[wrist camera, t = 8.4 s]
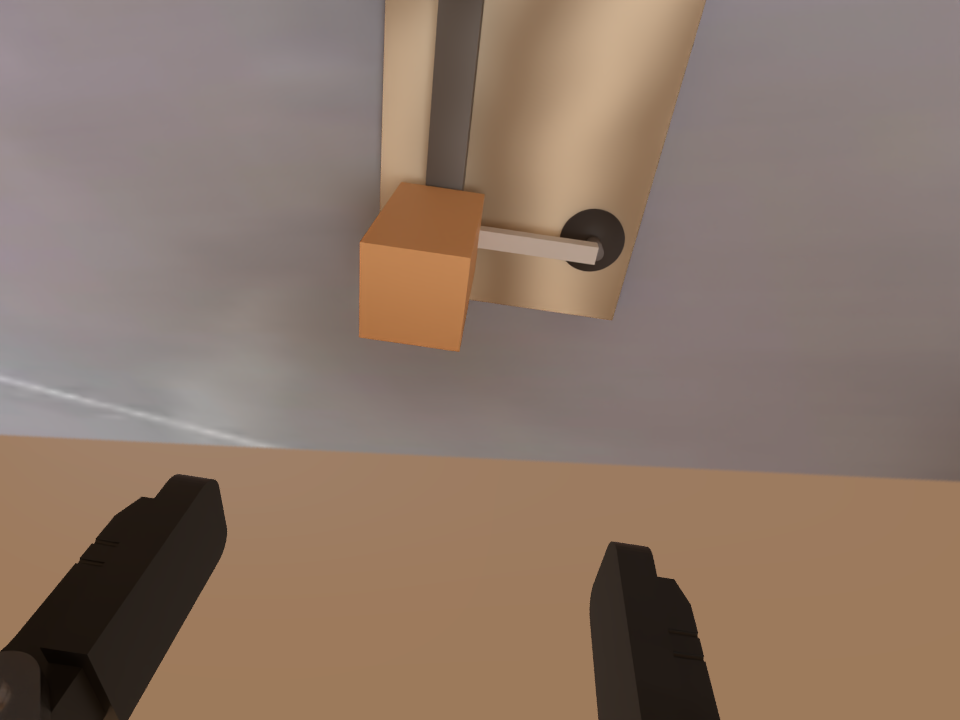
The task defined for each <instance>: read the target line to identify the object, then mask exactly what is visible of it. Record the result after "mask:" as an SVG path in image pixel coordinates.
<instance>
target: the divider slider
mask: <svg viewBox="0 0 960 720" xmlns="http://www.w3.org/2000/svg"><path fill="white" fill-rule="evenodd" d="M484 197H485V194H480V193H474V192H467V191H460V190H453V189H446V188H440V187H433V186H426V185H419V184H412V183H406V182H401V183H400V184H399V186H398V187H397V189H396V190H395V192H394V193H393V195H392V196H391V197H390V199H389V200H388V202H387V203H386V205H385V206H384V208H383V209H382V211H381V212H380V213H379V215H378V216H377V218H376V219H375V221H374V222H373V224H372V225H371V226H370V228H369V229H368V231H367V232H366V234H365V235H364V237H363V238H362V240H361V241H360V295H359V337H361V338H368V339H375V340H381V341H388V342H395V343H402V344H409V345H416V346H423V347H430V348H437V349H444V350H451V351H458V352H459V350H460V345H461V340H462V335H463V330H464V324H465V319H466V314H467V309H468V304H469V299H470V293H471V288H472V283H473V278H474V273H475V266H476V258H477V250H478V248H483V249H489V250H496V251H503V252H510V253H517V254H524V255H530V256H537V257H544V258H551V259H558V260H565V261H571V262H578V263H585V264H592V265H595V261H599V260H600V259H602V257H603V256H604V251H603V247H602V244H601V241H600V239H599V238H598V237H595V236H593V237H590V238H588V239H587V241H582V240H575V239H569V238H562V237H555V236H548V235H541V234H534V233H528V232H521V231H514V230H507V229H500V228H494V227H487V226H481V220H482V212H483V204H484Z"/></svg>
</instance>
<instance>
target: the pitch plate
mask: <svg viewBox="0 0 960 720" xmlns="http://www.w3.org/2000/svg"><path fill="white" fill-rule="evenodd" d="M705 2H706V0H385V37H384V75H383V113H382V151H381V189H380V212H381V211H382V209H383V208H384V206H385V205H386V203H387V202H388V200H389V199H390V197H391V196H392V195H393V193H394V192H395V190H396V189H397V187H398V186H399V184H400V183H401V182H406V183H412V184H419V185H426V186H433V187H440V188H446V189H453V190H460V191H467V192H474V193H480V194H485V197H484V204H483V212H482V220H481V226H487V227H494V228H500V229H507V230H514V231H521V232H528V233H534V234H541V235H548V236H555V237H562V238H569V239H575V240H582V241H587V239H588V238H590V237H593V236H595V237H598V238H599V239H600V241H601V244H602V247H603V251H604V256H603V257H602V259H600V260H599V261H595V265H592V264H585V263H578V262H571V261H565V260H558V259H551V258H544V257H537V256H530V255H524V254H517V253H510V252H503V251H496V250H489V249H483V248H478V250H477V258H476V266H475V273H474V278H473V283H472V288H471V293H470V299H469V300H475V301H482V302H489V303H496V304H503V305H510V306H517V307H524V308H530V309H537V310H544V311H551V312H558V313H565V314H572V315H579V316H585V317H592V318H599V319H606V320H612V319H613V316H614V312H615V309H616V305H617V302H618V299H619V295H620V292H621V288H622V285H623V281H624V278H625V275H626V271H627V268H628V264H629V261H630V258H631V254H632V251H633V247H634V244H635V241H636V237H637V234H638V230H639V227H640V224H641V220H642V217H643V213H644V210H645V207H646V203H647V200H648V196H649V193H650V189H651V186H652V183H653V179H654V176H655V172H656V169H657V166H658V162H659V159H660V155H661V152H662V149H663V145H664V142H665V138H666V135H667V132H668V128H669V125H670V121H671V118H672V114H673V111H674V108H675V104H676V101H677V97H678V94H679V91H680V87H681V84H682V80H683V77H684V74H685V70H686V67H687V63H688V60H689V57H690V53H691V50H692V46H693V43H694V40H695V36H696V33H697V29H698V26H699V22H700V19H701V16H702V12H703V9H704V5H705Z"/></svg>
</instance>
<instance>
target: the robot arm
mask: <svg viewBox="0 0 960 720" xmlns="http://www.w3.org/2000/svg"><path fill="white" fill-rule="evenodd" d="M226 537H227V526H226V521H225V516H224V510H223V505H222V500H221V495H220V489H219V485H218V482H217V481H216V480H214V479H207V478H201V477H194V476H188V475H181V474H177V475H174V476H173V477H171V478H170V479H169V480H168V482H167V483H166V484H165V485H164V487H163V488H162V489H161V490H160V492H159V493H158V494H157V496H156V497H155V498H147V497H141V498H140V499H138V500H137V501H135V502H134V503H132V504H131V505H129V506H128V507H127V508H125V509H124V510H122V511H121V512H119V513H118V514H116V515H115V516H114V517H113V519H112V520H111V521H110V522H109V524H108V525H107V526H106V527H105V528H104V529H103V531H102V532H101V533H100V534H99V536H98V537H97V538H96V541H95V543H94V544H91V545H90V546H89V548H88V549H87V550H86V551H85V553H84V554H83V555H82V556H81V557H80V561H79V563H78V564H76V563H75V565H74V566H73V567H72V568H71V569H70V571H69V572H68V573H67V574H66V576H65V577H64V578H63V579H62V580H61V582H60V583H59V584H58V585H57V587H56V588H55V589H54V590H53V591H52V593H51V594H50V595H49V596H48V597H47V599H46V600H45V601H44V602H43V603H42V605H41V606H40V607H39V608H38V609H37V611H36V612H35V613H34V614H33V615H32V617H31V618H30V619H29V621H28V622H27V623H26V624H25V625H24V626H23V628H22V629H21V630H20V631H19V632H18V634H17V635H16V636H15V637H14V638H13V639H12V641H11V642H10V643H9V644H8V645H7V646H6V647H5V648H3V649H2V650H1V651H0V720H128V719H129V717H130V716H131V714H132V712H133V710H134V708H135V707H136V705H137V703H138V702H139V700H140V698H141V696H142V695H143V693H144V691H145V689H146V688H147V686H148V684H149V682H150V680H151V679H152V677H153V675H154V674H155V672H156V670H157V668H158V666H159V665H160V663H161V661H162V660H163V658H164V656H165V654H166V653H167V651H168V649H169V647H170V645H171V644H172V642H173V640H174V639H175V637H176V635H177V633H178V632H179V630H180V628H181V626H182V625H183V623H184V621H185V619H186V618H187V616H188V614H189V612H190V611H191V609H192V607H193V605H194V604H195V602H196V600H197V598H198V596H199V595H200V593H201V591H202V590H203V588H204V586H205V584H206V583H207V581H208V579H209V577H210V576H211V574H212V572H213V570H214V569H215V567H216V565H217V563H218V562H219V560H220V558H221V555H222V553H223V550H224V547H225V543H226ZM590 626H591V638H592V650H593V661H594V673H595V684H596V696H597V707H598V719H599V720H720V717H719V714H718V709H717V706H716V702H715V698H714V694H713V690H712V686H711V682H710V678H709V674H708V671H707V666H706V662H704V660H703V657H704V655H703V651H702V647H701V643H700V639H699V638H698V637H697V634H698V631H697V627H696V623H695V620H694V616H693V612H692V608H691V605H690V603H689V601H688V600H687V598H686V597H685V595H684V594H683V592H682V591H681V589H680V588H679V586H678V585H677V583H676V581H675V580H674V579H669V578H662V577H657V574H656V569H655V564H654V560H653V555H652V552H651V550H650V549H649V548H648V547H645V546H639V545H632V544H625V543H619V542H610V544H609V545H608V547H607V550H606V553H605V556H604V558H603V560H602V563H601V566H600V568H599V571H598V574H597V576H596V579H595V582H594V584H593V588H592V592H591V598H590Z"/></svg>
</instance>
